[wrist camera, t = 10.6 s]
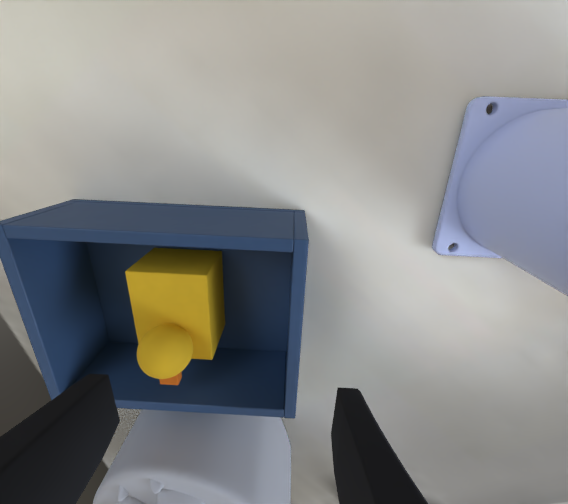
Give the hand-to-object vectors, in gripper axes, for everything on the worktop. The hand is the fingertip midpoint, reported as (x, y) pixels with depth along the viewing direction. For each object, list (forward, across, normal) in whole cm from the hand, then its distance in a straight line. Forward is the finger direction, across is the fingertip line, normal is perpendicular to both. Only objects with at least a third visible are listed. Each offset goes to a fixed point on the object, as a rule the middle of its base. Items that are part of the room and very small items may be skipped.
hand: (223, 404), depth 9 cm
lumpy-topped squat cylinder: (+10, +3, +14) cm, 17 cm away
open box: (+9, +4, +1) cm, 10 cm away
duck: (+9, +4, +1) cm, 10 cm away
